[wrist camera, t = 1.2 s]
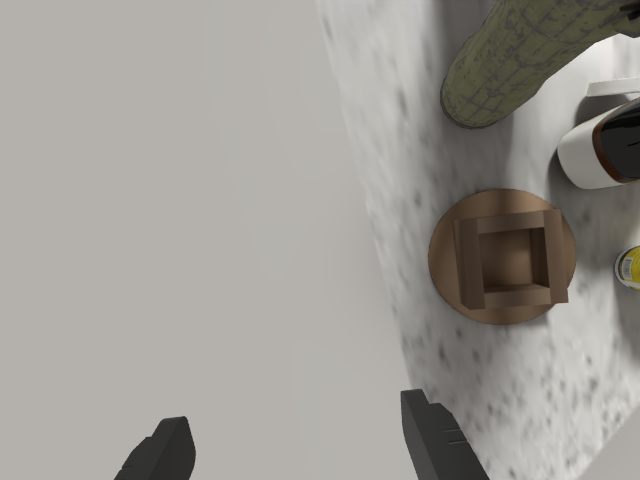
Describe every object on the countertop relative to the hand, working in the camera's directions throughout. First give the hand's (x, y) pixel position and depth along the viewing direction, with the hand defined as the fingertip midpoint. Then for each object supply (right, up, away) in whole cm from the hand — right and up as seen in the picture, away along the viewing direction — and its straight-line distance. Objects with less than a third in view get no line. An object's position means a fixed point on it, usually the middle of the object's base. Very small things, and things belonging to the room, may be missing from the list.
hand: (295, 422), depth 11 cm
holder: (+23, +5, +26) cm, 36 cm away
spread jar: (+34, +19, +25) cm, 46 cm away
